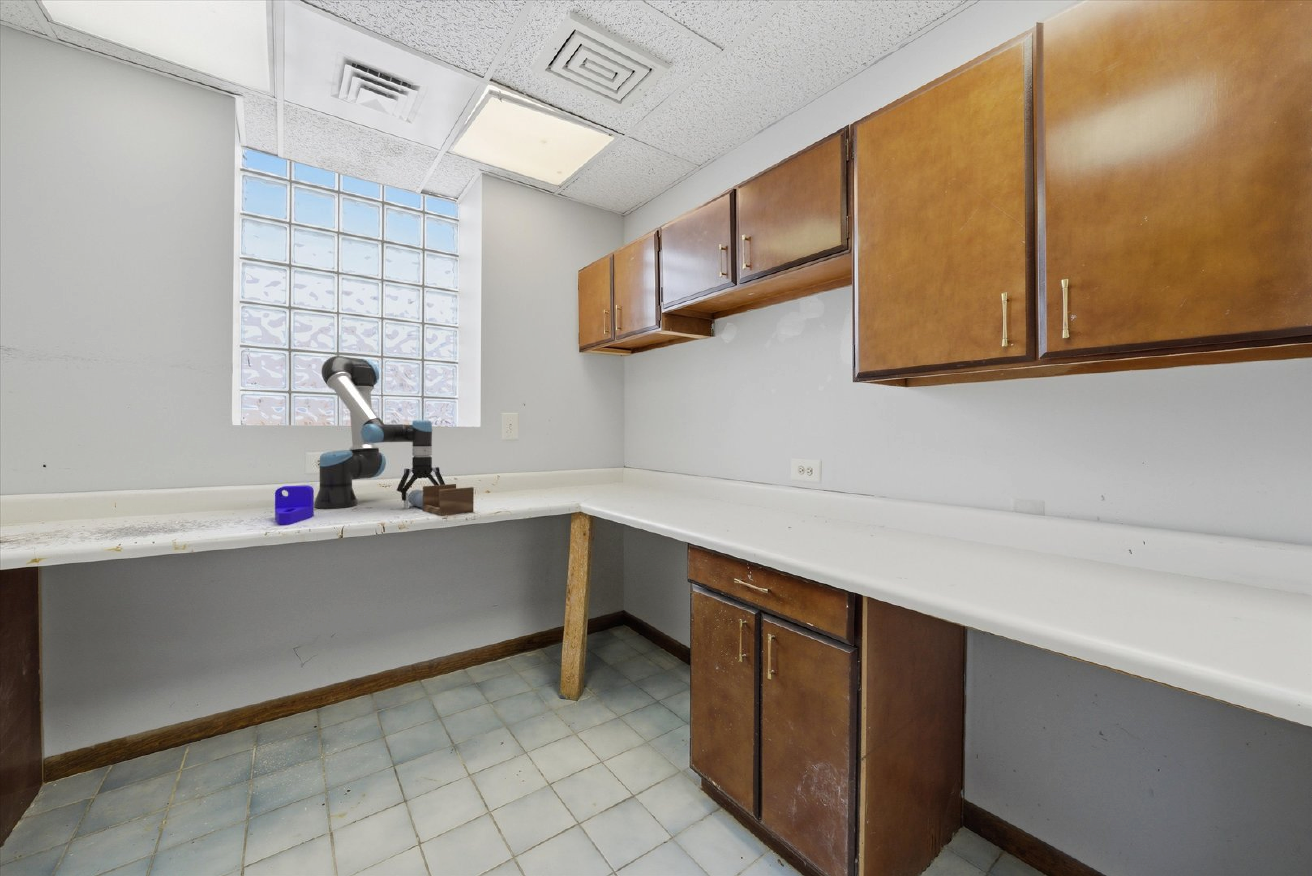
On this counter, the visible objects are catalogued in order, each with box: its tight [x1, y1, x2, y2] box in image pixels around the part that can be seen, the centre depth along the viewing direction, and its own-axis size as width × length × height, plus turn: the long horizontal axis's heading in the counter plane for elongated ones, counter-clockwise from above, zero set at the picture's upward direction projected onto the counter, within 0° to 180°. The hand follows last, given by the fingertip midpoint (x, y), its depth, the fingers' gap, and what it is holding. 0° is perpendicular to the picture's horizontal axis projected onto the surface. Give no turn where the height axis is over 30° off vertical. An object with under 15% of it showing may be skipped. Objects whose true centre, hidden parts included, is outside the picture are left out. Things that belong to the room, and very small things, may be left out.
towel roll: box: [408, 489, 423, 509], centre depth 210 cm, size 12×7×7 cm, turn 48°
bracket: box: [274, 484, 315, 526], centre depth 177 cm, size 18×11×12 cm, turn 25°
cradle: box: [422, 483, 475, 517], centre depth 200 cm, size 16×13×10 cm
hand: (422, 506), depth 210 cm, fingers open, 12 cm apart
